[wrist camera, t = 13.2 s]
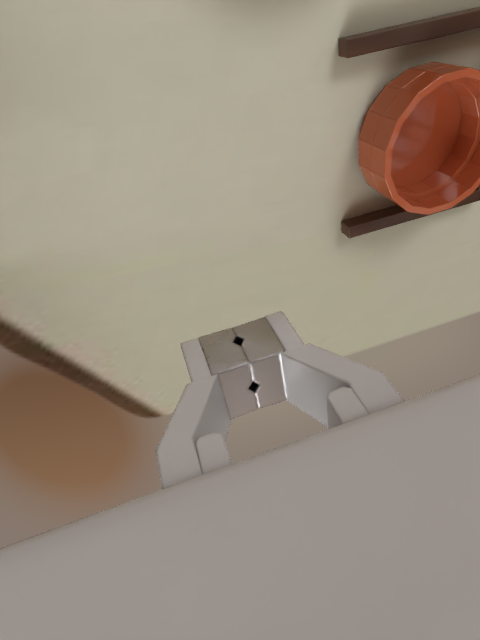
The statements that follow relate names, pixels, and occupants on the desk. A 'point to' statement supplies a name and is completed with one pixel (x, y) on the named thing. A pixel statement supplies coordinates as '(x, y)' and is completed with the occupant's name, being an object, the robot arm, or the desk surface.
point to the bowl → (424, 138)
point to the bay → (392, 39)
